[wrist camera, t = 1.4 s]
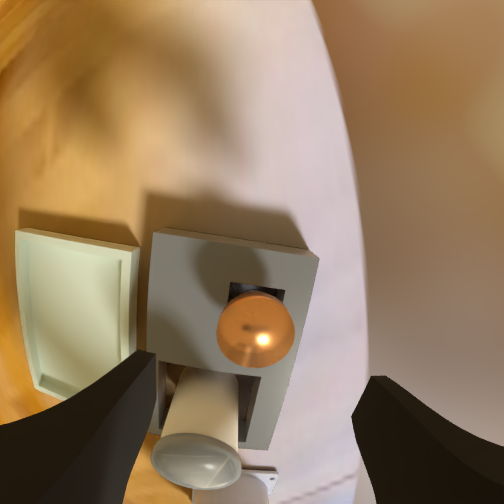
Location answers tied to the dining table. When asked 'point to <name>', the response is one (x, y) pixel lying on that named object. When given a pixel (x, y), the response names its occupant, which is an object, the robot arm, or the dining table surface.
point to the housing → (210, 307)
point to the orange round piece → (255, 330)
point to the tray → (75, 307)
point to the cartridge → (201, 432)
